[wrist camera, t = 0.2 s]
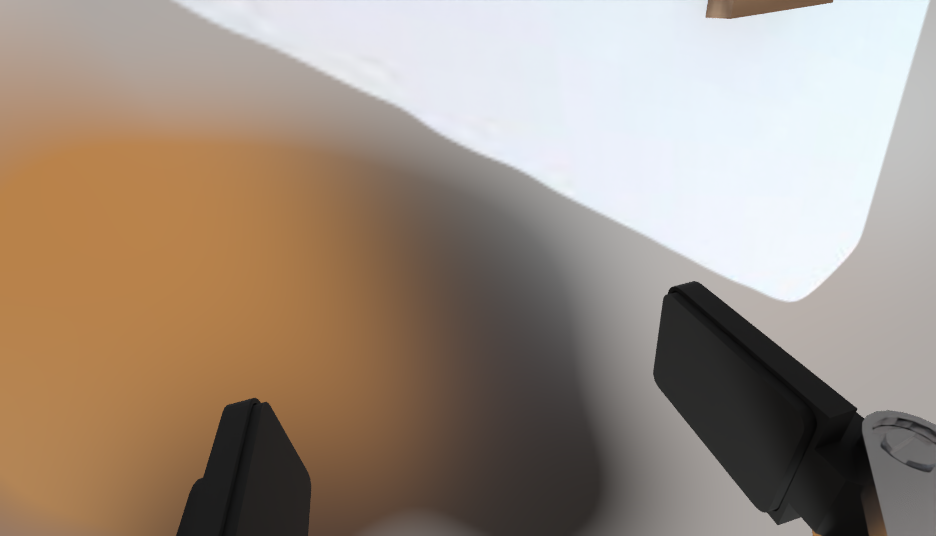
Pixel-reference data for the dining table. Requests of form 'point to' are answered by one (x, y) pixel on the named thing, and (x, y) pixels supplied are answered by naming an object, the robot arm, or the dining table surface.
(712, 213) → the dining table surface
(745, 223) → the dining table surface
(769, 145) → the dining table surface
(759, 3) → the wooden frame
